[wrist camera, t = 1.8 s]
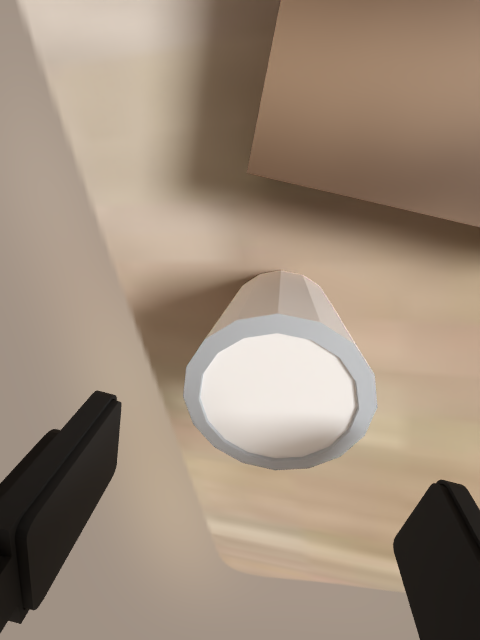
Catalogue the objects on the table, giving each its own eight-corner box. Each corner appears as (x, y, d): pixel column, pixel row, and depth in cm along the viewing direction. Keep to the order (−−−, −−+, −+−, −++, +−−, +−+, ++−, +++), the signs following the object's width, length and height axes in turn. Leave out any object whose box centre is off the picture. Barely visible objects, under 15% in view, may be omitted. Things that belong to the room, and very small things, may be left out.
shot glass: (221, 370, 20) (191, 466, 13) (213, 258, 17) (170, 312, 10) (338, 375, 19) (365, 480, 12) (352, 258, 16) (395, 317, 10)
